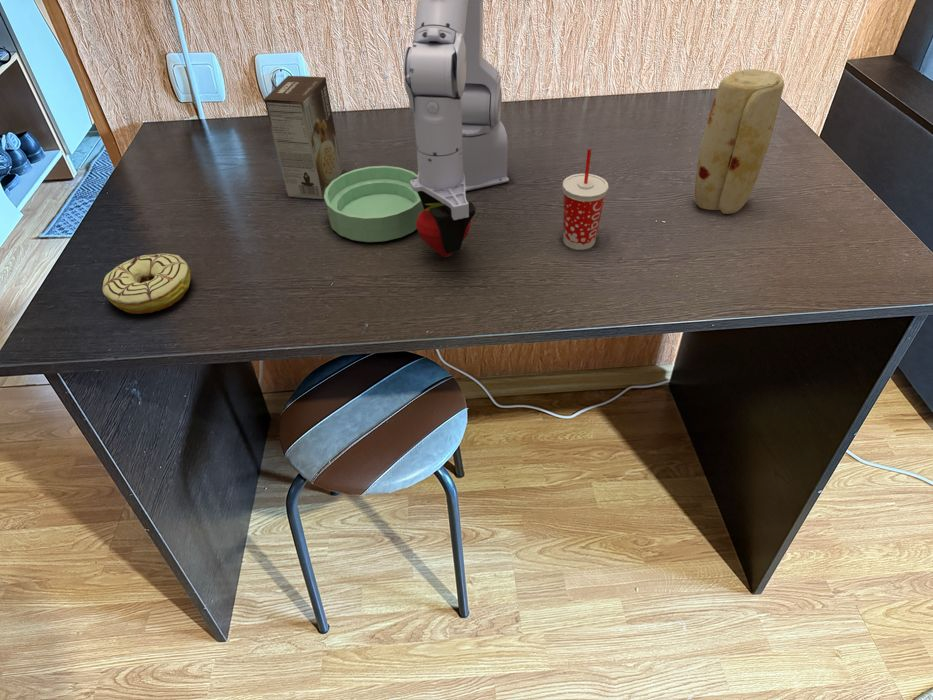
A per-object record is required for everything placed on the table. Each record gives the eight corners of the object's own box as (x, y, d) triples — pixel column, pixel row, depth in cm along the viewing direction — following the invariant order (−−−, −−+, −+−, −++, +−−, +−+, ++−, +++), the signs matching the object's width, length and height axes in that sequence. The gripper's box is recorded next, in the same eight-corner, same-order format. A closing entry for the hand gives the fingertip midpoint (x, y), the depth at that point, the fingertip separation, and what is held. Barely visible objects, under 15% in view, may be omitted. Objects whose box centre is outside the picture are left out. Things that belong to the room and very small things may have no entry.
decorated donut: (145, 264, 92) (135, 241, 89) (210, 277, 89) (202, 254, 86) (93, 309, 84) (80, 286, 82) (161, 325, 82) (151, 302, 79)
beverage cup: (573, 257, 90) (583, 165, 81) (549, 236, 94) (556, 145, 85) (609, 245, 92) (623, 153, 83) (584, 224, 96) (595, 134, 87)
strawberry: (415, 247, 93) (409, 185, 86) (466, 240, 94) (465, 177, 87) (422, 272, 89) (417, 208, 82) (476, 263, 90) (475, 199, 83)
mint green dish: (410, 184, 106) (408, 158, 103) (441, 231, 96) (439, 204, 93) (320, 203, 102) (315, 177, 99) (341, 254, 92) (336, 227, 89)
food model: (737, 191, 102) (776, 60, 88) (759, 213, 97) (804, 78, 84) (679, 198, 101) (709, 67, 87) (698, 221, 96) (733, 86, 82)
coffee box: (307, 169, 110) (287, 73, 99) (343, 172, 109) (327, 76, 98) (286, 197, 104) (262, 98, 93) (324, 200, 103) (304, 100, 92)
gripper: (391, 127, 84) (401, 217, 93) (427, 178, 74) (434, 274, 84) (443, 117, 86) (447, 207, 95) (484, 166, 76) (484, 261, 85)
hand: (444, 238), depth 89 cm, fingers closed on strawberry, 6 cm apart
